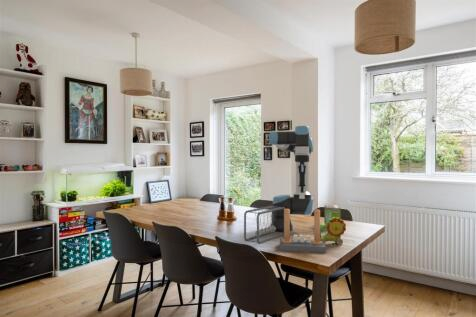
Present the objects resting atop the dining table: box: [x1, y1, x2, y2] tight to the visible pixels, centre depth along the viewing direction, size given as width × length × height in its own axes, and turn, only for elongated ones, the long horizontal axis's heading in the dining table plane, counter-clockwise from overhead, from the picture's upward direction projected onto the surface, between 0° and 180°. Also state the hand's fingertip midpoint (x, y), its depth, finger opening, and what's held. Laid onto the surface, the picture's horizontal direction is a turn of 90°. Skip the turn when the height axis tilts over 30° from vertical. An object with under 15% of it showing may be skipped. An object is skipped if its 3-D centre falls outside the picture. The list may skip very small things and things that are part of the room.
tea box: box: [323, 204, 341, 225], centre depth 227 cm, size 15×10×15 cm
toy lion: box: [320, 217, 347, 246], centre depth 183 cm, size 16×5×15 cm, turn 92°
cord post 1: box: [282, 209, 293, 244], centre depth 175 cm, size 5×5×18 cm
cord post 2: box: [312, 209, 322, 245], centre depth 173 cm, size 5×5×18 cm
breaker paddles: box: [293, 234, 312, 243], centre depth 174 cm, size 2×9×4 cm, turn 81°
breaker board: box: [278, 238, 327, 254], centre depth 174 cm, size 12×24×3 cm, turn 81°
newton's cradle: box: [243, 205, 285, 245], centre depth 197 cm, size 30×10×18 cm, turn 140°
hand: (302, 198), depth 174 cm, fingers closed
